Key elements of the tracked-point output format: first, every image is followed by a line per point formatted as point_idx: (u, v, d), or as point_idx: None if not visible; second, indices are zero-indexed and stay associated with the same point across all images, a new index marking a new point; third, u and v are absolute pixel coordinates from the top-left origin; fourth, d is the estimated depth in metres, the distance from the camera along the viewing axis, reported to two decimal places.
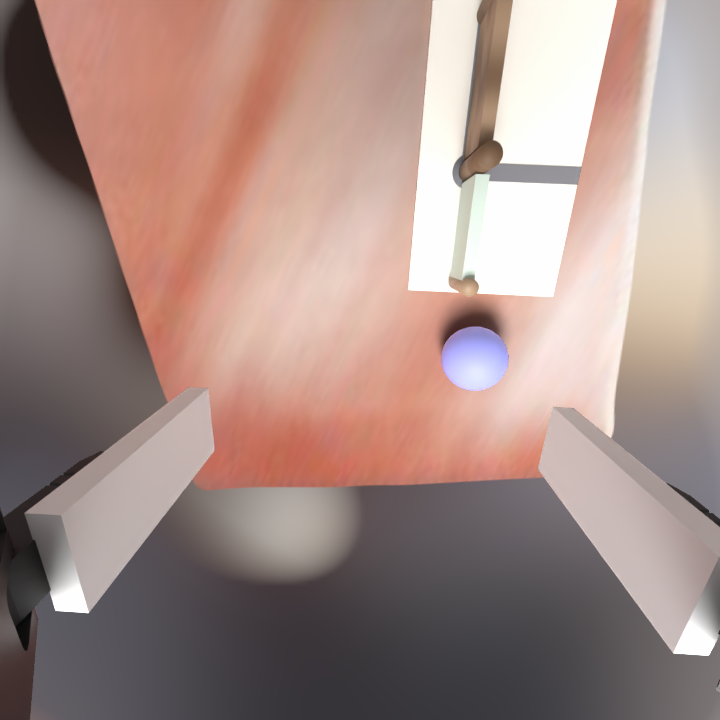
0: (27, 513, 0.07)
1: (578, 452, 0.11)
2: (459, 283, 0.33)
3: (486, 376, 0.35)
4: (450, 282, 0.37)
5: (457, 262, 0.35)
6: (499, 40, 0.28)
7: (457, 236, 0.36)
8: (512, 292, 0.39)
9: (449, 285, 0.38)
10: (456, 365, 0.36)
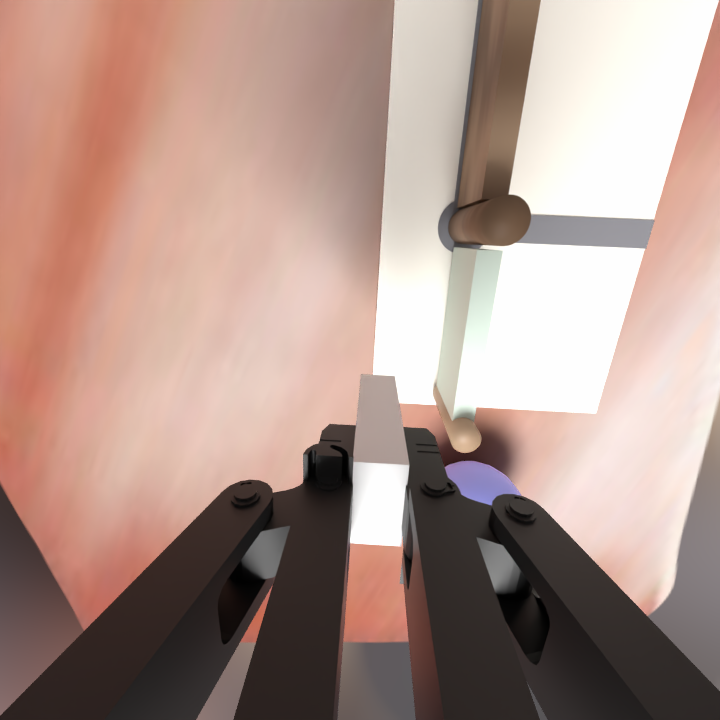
0: (354, 462, 0.09)
1: None
2: (448, 424, 0.19)
3: None
4: (435, 399, 0.23)
5: (445, 377, 0.21)
6: None
7: (446, 331, 0.22)
8: (532, 406, 0.25)
9: (434, 399, 0.24)
10: None
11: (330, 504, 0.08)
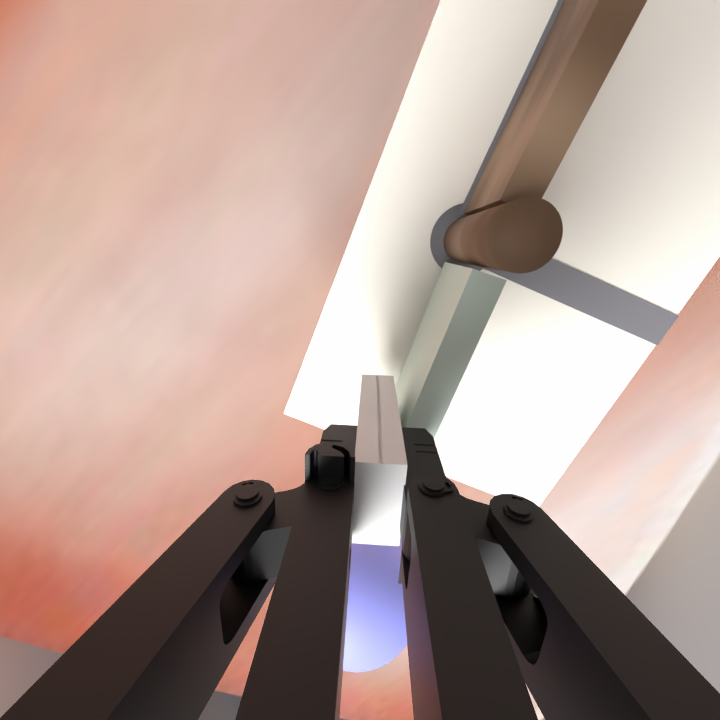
0: (355, 462, 0.09)
1: None
2: None
3: (356, 668, 0.16)
4: None
5: None
6: None
7: (407, 364, 0.17)
8: (470, 481, 0.20)
9: None
10: None
11: (332, 504, 0.08)
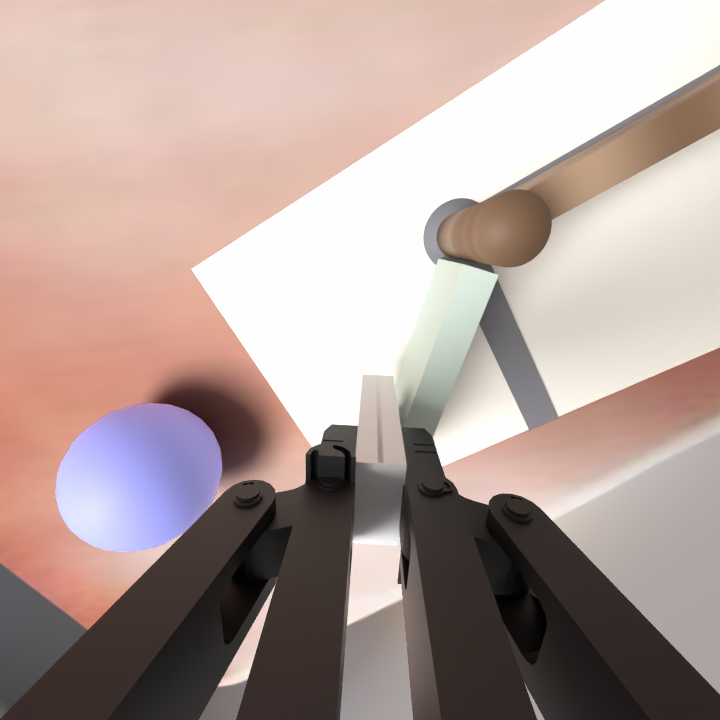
0: (356, 462, 0.09)
1: None
2: None
3: (90, 537, 0.15)
4: None
5: None
6: None
7: (405, 363, 0.17)
8: None
9: None
10: (71, 467, 0.15)
11: (333, 504, 0.08)
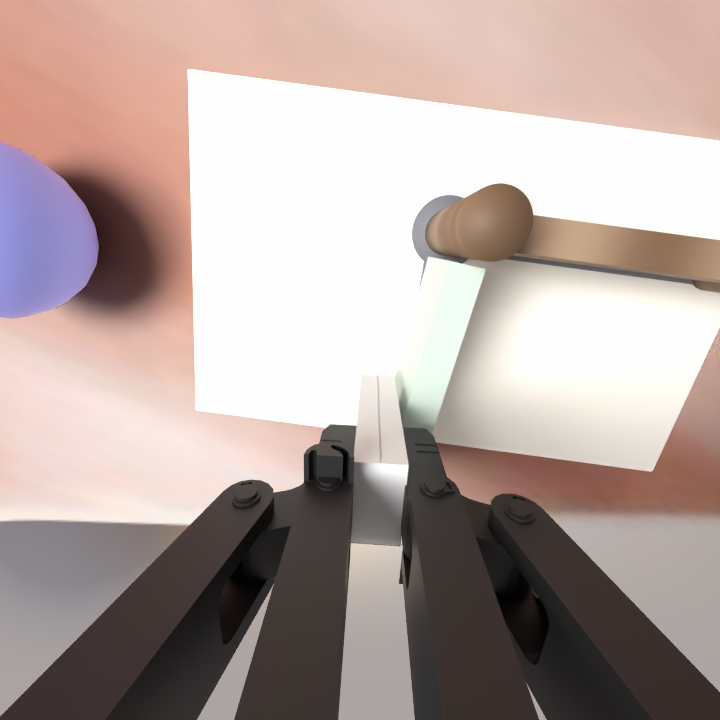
0: (354, 462, 0.09)
1: None
2: None
3: None
4: None
5: None
6: None
7: (402, 362, 0.17)
8: (199, 333, 0.18)
9: None
10: None
11: (331, 504, 0.08)
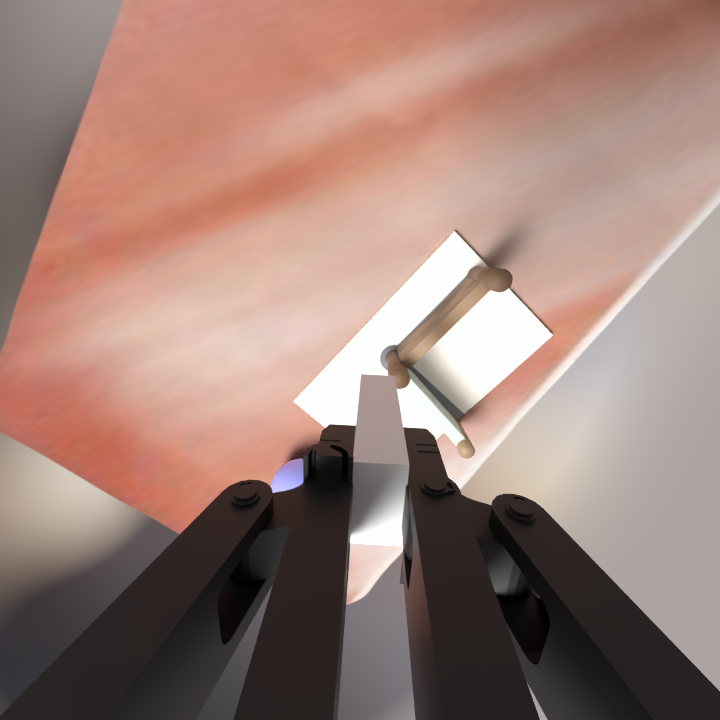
0: (354, 462, 0.09)
1: None
2: None
3: None
4: None
5: None
6: (459, 311, 0.33)
7: None
8: None
9: None
10: (279, 491, 0.39)
11: (330, 504, 0.08)
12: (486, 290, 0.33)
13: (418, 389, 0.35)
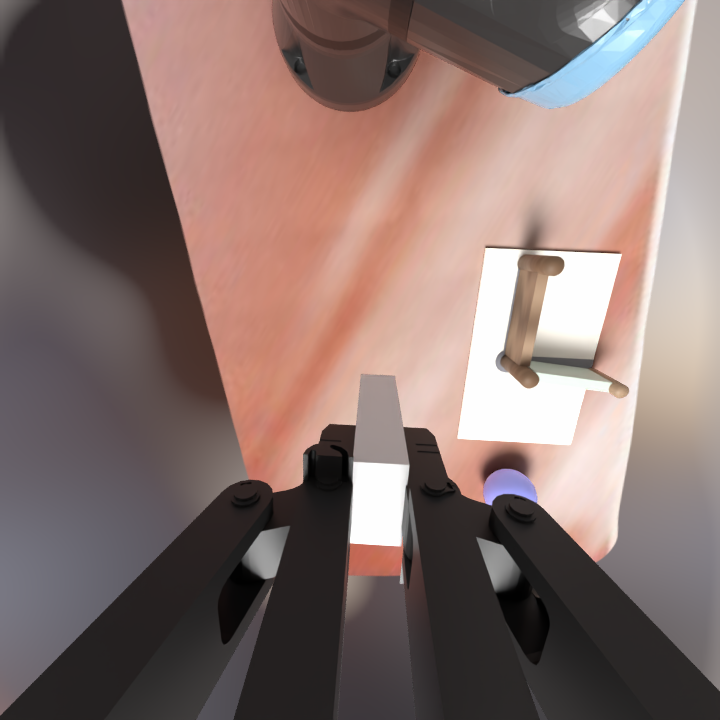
0: (353, 462, 0.09)
1: None
2: (610, 393, 0.41)
3: None
4: None
5: None
6: (537, 303, 0.39)
7: None
8: (539, 441, 0.49)
9: None
10: None
11: (330, 504, 0.08)
12: (546, 275, 0.38)
13: (547, 375, 0.41)
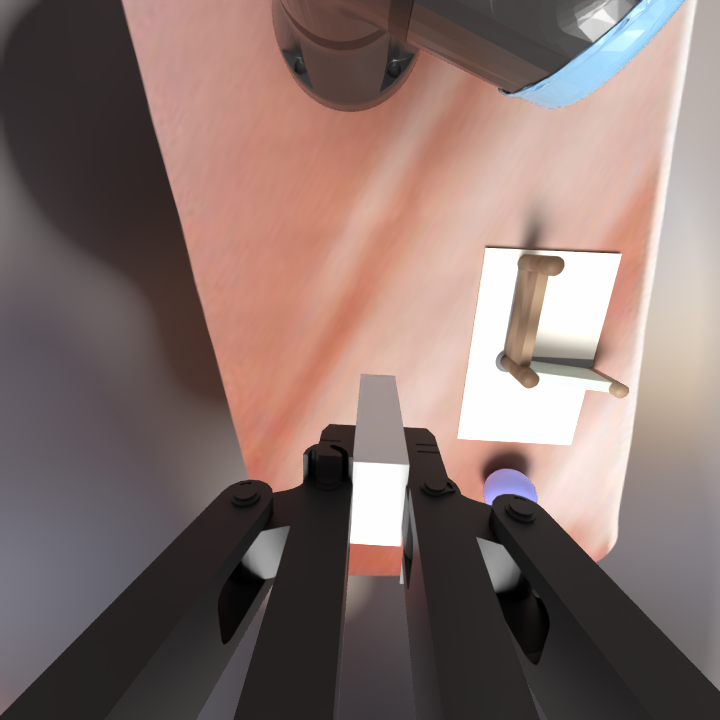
0: (354, 462, 0.09)
1: None
2: None
3: None
4: None
5: None
6: (537, 303, 0.39)
7: None
8: (539, 441, 0.49)
9: None
10: None
11: (330, 504, 0.08)
12: (546, 275, 0.38)
13: (547, 375, 0.41)
